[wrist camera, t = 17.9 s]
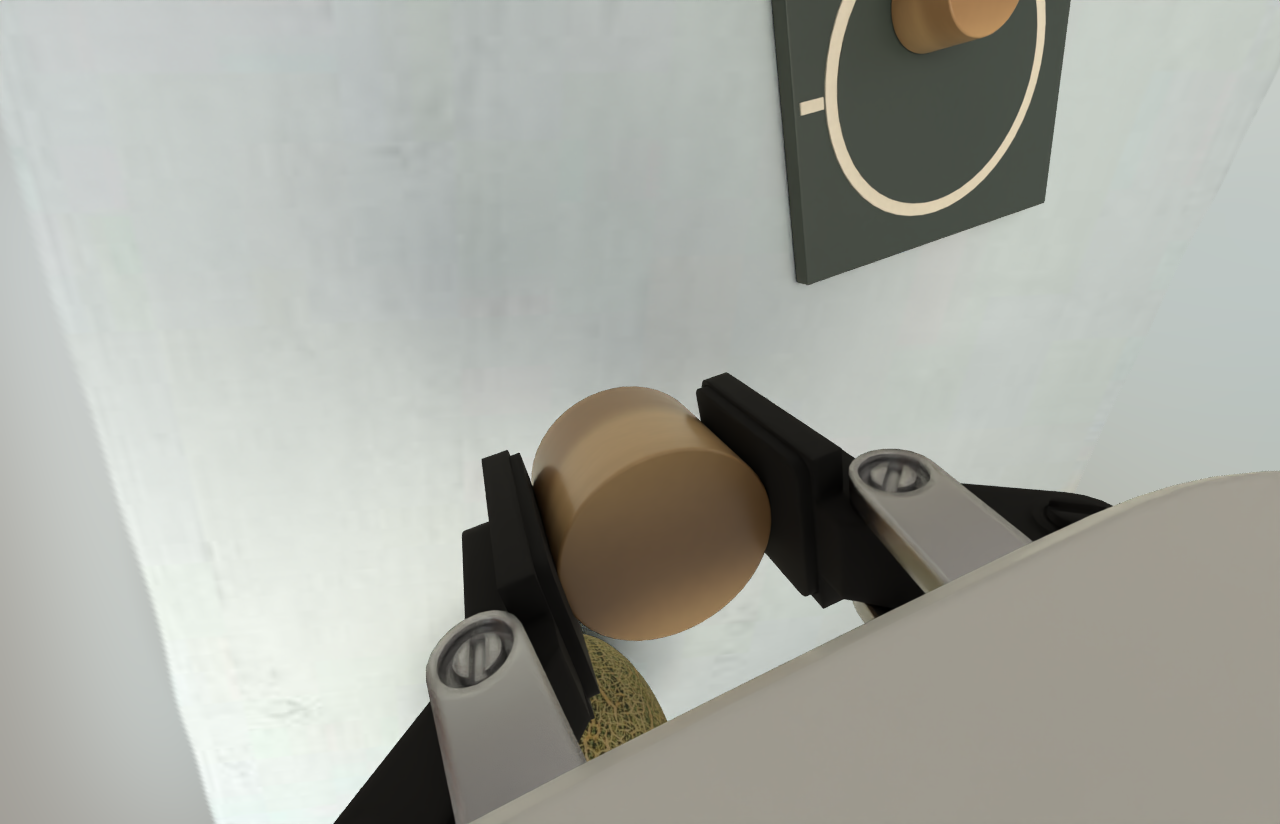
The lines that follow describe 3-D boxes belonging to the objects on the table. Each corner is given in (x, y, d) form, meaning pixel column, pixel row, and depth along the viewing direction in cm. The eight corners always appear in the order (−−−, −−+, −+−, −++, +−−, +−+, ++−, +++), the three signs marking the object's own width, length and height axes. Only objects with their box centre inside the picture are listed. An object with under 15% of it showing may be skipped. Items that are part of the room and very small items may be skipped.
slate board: (760, -117, 20) (777, -133, 19) (1070, -170, 23) (1099, -186, 22) (796, 282, 27) (809, 286, 26) (1028, 202, 30) (1048, 202, 29)
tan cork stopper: (505, 423, 10) (524, 504, 8) (686, 360, 11) (760, 413, 8) (561, 569, 12) (591, 674, 9) (714, 506, 13) (781, 587, 10)
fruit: (424, 730, 31) (407, 1124, 18) (477, 578, 28) (503, 917, 15) (597, 725, 36) (682, 1031, 23) (657, 595, 33) (793, 861, 20)
